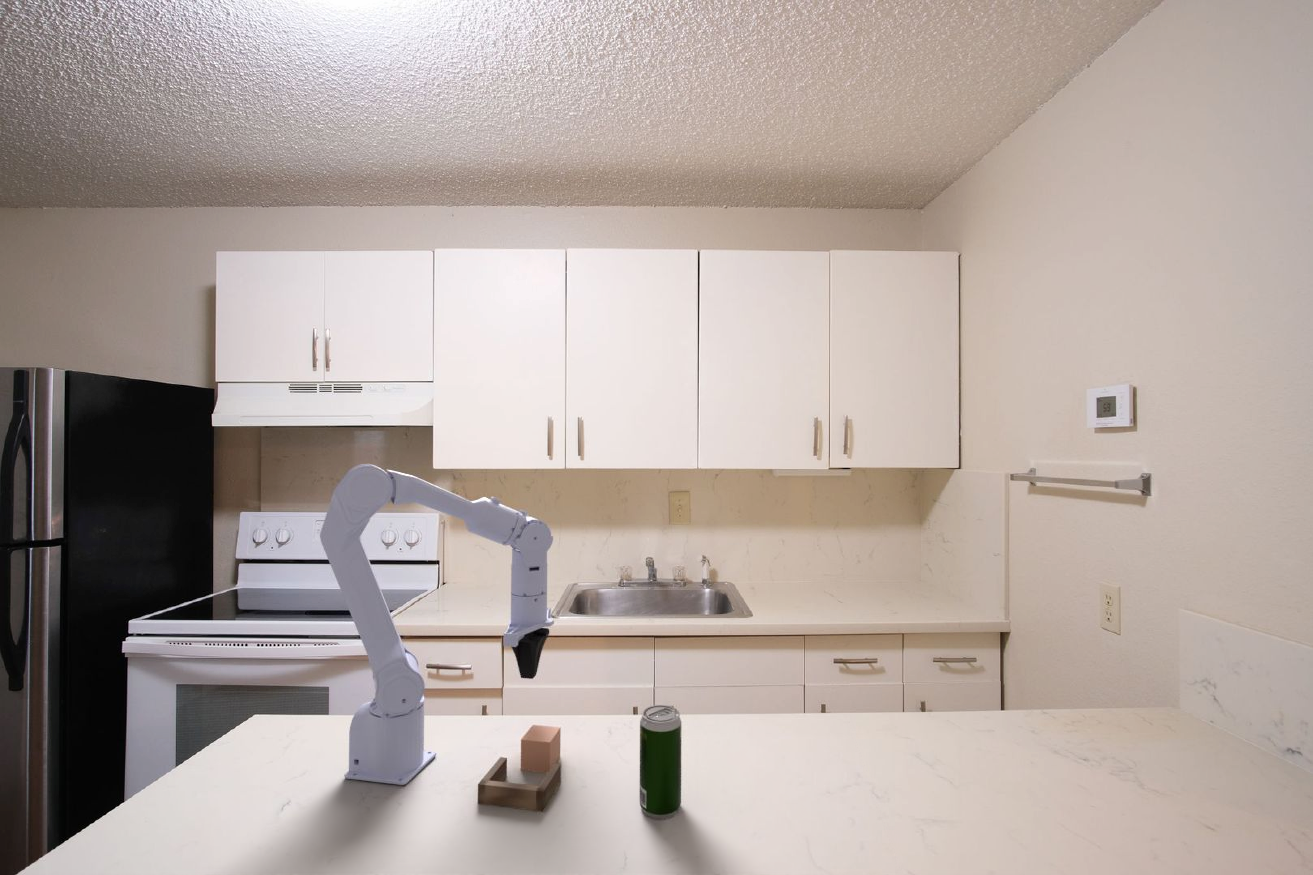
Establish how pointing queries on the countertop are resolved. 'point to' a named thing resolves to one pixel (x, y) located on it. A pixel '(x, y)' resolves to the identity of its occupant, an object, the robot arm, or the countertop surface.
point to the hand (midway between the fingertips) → (528, 676)
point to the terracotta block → (540, 748)
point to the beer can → (660, 761)
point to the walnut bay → (517, 789)
